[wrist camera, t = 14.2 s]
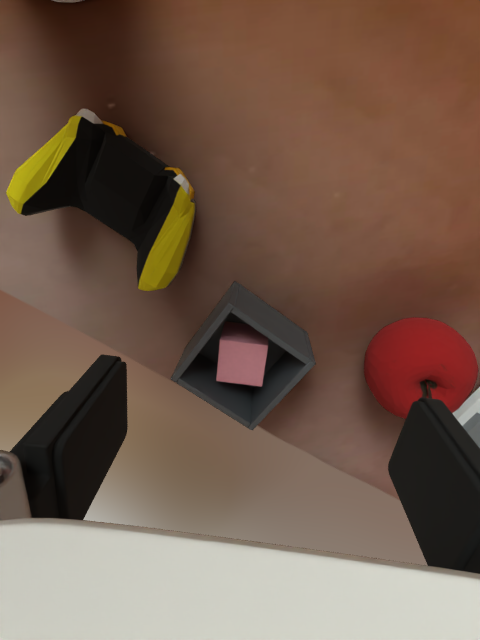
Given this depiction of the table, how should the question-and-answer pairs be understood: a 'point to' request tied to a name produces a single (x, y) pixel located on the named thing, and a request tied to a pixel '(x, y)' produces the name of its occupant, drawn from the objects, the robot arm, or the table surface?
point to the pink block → (241, 355)
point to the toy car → (470, 416)
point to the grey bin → (281, 363)
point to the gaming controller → (112, 192)
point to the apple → (419, 365)
